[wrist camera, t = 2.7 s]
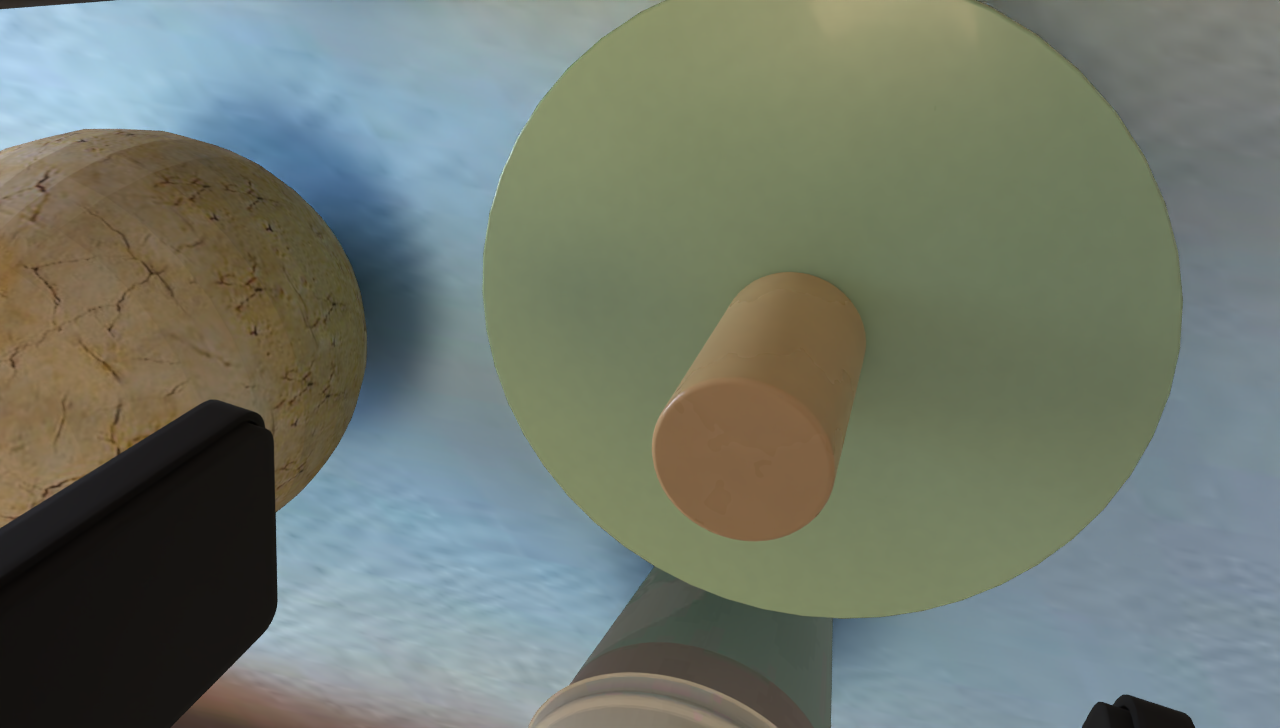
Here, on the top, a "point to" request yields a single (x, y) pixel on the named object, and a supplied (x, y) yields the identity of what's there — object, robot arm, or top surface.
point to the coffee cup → (699, 666)
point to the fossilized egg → (163, 307)
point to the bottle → (39, 3)
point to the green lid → (832, 298)
